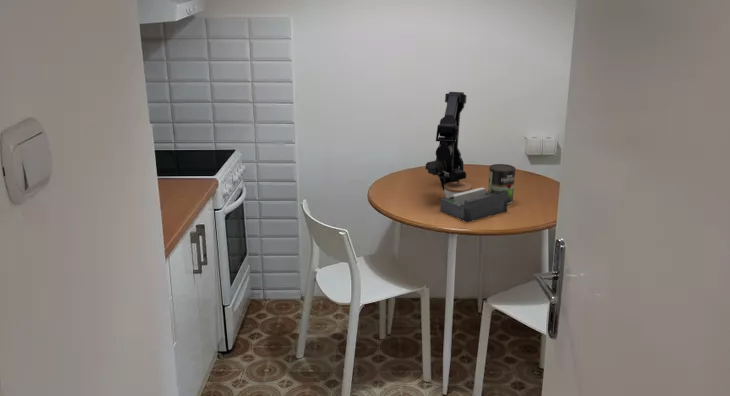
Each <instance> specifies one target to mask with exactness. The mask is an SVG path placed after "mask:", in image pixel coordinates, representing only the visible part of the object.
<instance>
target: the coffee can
mask: <svg viewBox="0 0 730 396" xmlns="http://www.w3.org/2000/svg"><path fill="white" fill-rule="evenodd" d="M488 168H489V169H488V170H489V171H488V172H489V173H488V174H489V175H488V187H487V189H488V190H487V191H488V192H490V193H495V192H499V191H503V190H505V191H508V203H507V206H508V205H511V204H513V202H514V189H515V178H516V177H515V175H516V167H515V166H513V165H511V164H505V163H495V164H491V165H489V167H488Z"/></svg>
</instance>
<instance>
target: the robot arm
mask: <svg viewBox="0 0 730 396" xmlns="http://www.w3.org/2000/svg"><path fill="white" fill-rule="evenodd" d="M444 103H446V108H445V112H444V116H443V117H442V118H441V119H440V120H439V124H437V127H436V134H435V135H436V136H435V142H439V144H438V147H437V148H436V151H435V156H436V158H435V160H431V161H426V164H425V170H427V173H428V174H431V175H433V176H437V177H438V178H439V181H440V184H441V187H442V191H443V192H444V185H445V184H446V183H449V182H457V181H459V182H460V180H464V179H465V180H466V179H467V172H466V171H464V167H465V166H464V161H463V157H462V153H461V151H460V150H459V137H460V136H459V135H460V122H461V121H460V120H461V113H462V111H463V110H464V108H465V104H467V95H466V94H465V93H464V92H461V91H448V93H445V98H444Z"/></svg>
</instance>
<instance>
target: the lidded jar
mask: <svg viewBox="0 0 730 396" xmlns="http://www.w3.org/2000/svg"><path fill="white" fill-rule="evenodd" d="M472 188H473V187H472V185H471V184H470V183H468V182H463V181H460V180H459V181H457V182H449V183H446V184H445V185H444V191H443V192H444V197H446V198H448V199H449V198H450V197H452V195H454V194H458V193H462V192H466V191H470V190H473V189H472Z"/></svg>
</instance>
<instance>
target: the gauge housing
mask: <svg viewBox="0 0 730 396" xmlns="http://www.w3.org/2000/svg"><path fill="white" fill-rule="evenodd" d="M507 203H508V191H505V190H503V191H499V192H495V193H490V192H488V190H486V193H485V195H484V196H480V197H476V198H472V199H468V200H465V201H464V205H463V204H461V203H458V202H456V201H454V200H452V199H448V198H446V197H445V196H444V197H440V204H439V205H440V209H439V210H440V211H439V212H442V213H445V214H447V215H449V216H451V215H452V216H451V217H453V216H454V217H453V218H456V219H458V218H459V219H458V220H460V219H461V221H463V220H464V222H465V221H466V223H470V222H473V221H472V220H474V221H477V220H480V219H484V218H487V217H491V216H494V215H498V214H501V213H505V212H507V211H508V205H507ZM469 221H470V222H469Z"/></svg>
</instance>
